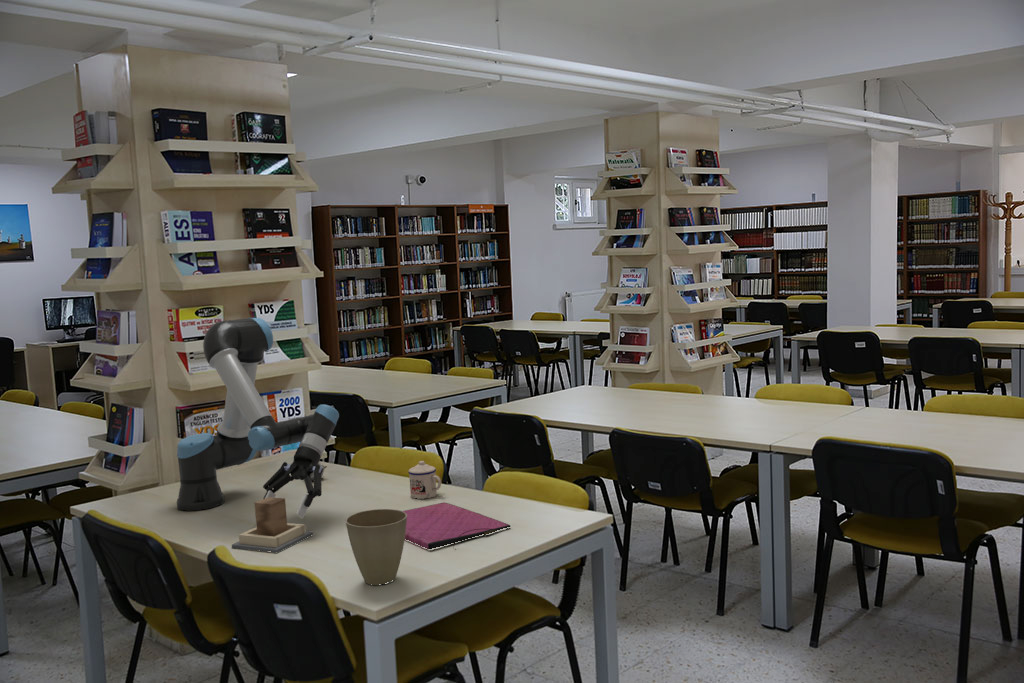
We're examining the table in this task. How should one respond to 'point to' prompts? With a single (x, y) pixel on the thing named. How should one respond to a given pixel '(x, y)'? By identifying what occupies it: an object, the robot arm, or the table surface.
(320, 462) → the game die
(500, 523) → the laptop bag
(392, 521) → the plant pot
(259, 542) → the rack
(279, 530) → the walnut block
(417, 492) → the teacup with lid
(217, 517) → the table surface
